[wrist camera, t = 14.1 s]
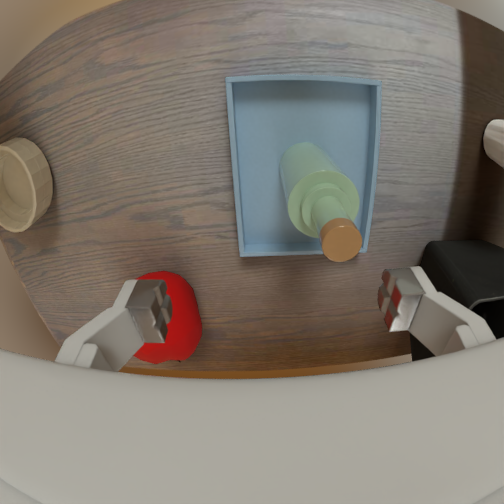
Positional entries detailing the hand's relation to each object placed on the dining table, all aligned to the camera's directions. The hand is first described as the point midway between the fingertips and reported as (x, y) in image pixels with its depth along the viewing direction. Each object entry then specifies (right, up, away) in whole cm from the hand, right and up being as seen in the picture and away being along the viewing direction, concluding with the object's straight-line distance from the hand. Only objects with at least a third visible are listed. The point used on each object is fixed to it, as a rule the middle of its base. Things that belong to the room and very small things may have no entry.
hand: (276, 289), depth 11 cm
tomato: (-14, -5, +34) cm, 37 cm away
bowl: (-35, +12, +22) cm, 43 cm away
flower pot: (+31, -2, +30) cm, 43 cm away
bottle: (+5, +11, +22) cm, 25 cm away
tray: (+5, +11, +22) cm, 25 cm away
